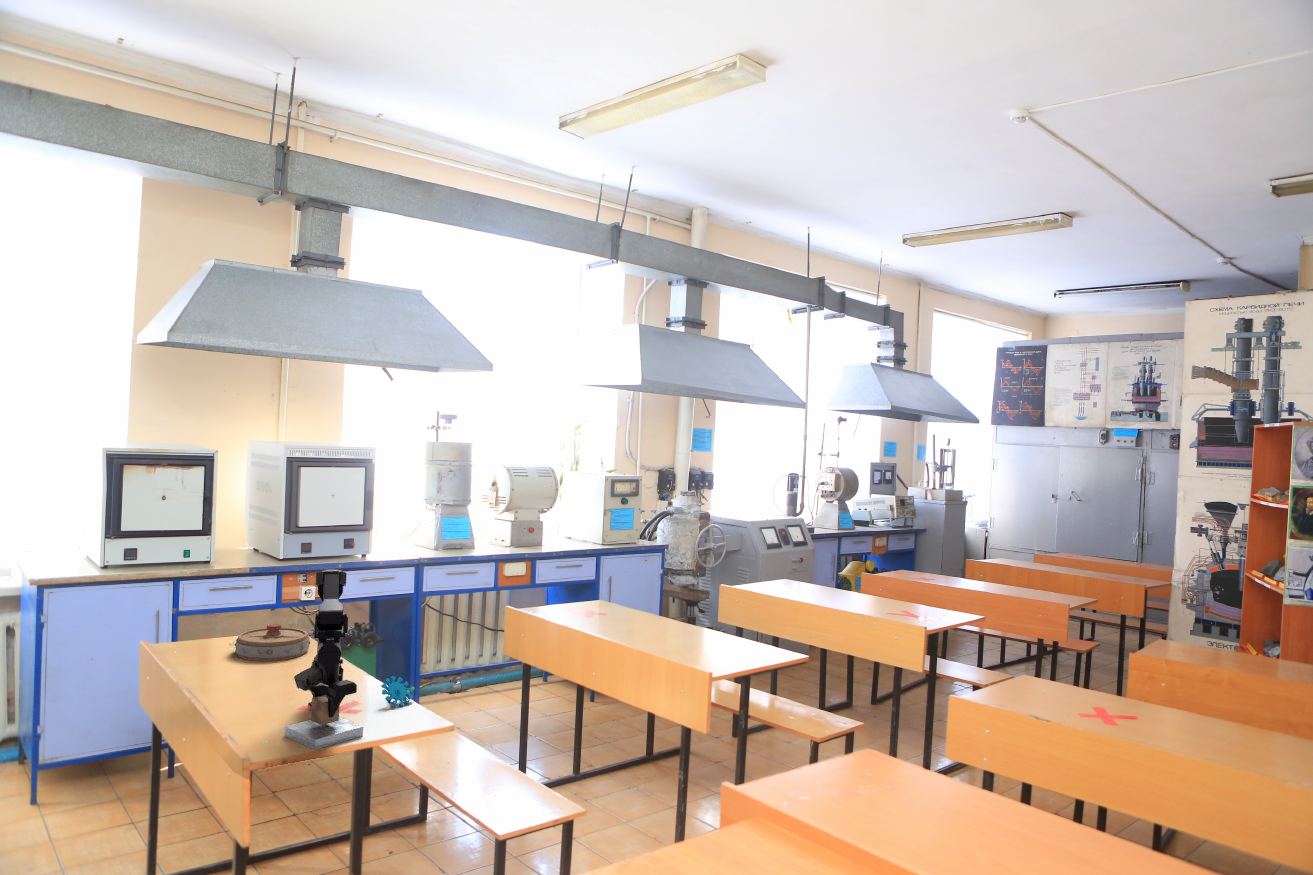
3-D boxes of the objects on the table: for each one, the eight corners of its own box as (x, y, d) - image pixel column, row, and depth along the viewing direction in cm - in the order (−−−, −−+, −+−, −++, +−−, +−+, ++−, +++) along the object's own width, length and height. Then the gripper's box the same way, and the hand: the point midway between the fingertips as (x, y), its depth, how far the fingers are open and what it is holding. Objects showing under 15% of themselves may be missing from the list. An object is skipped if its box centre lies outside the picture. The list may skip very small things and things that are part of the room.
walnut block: (310, 720, 223) (312, 697, 223) (327, 715, 227) (329, 693, 227) (321, 725, 220) (322, 702, 220) (338, 720, 224) (339, 697, 224)
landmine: (260, 665, 284) (262, 636, 284) (221, 652, 297) (222, 624, 297) (322, 652, 304) (324, 625, 304) (283, 641, 317) (284, 614, 317)
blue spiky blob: (388, 705, 246) (379, 675, 251) (378, 716, 248) (369, 686, 253) (420, 702, 254) (411, 673, 259) (410, 713, 256) (401, 684, 262)
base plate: (284, 735, 222) (285, 726, 222) (332, 722, 233) (332, 713, 233) (314, 749, 214) (315, 739, 214) (362, 735, 225) (363, 726, 225)
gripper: (280, 654, 222) (277, 713, 222) (321, 669, 212) (317, 731, 212) (318, 647, 231) (315, 703, 231) (359, 660, 221) (356, 720, 221)
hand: (325, 714), depth 224 cm, fingers closed on walnut block, 5 cm apart
